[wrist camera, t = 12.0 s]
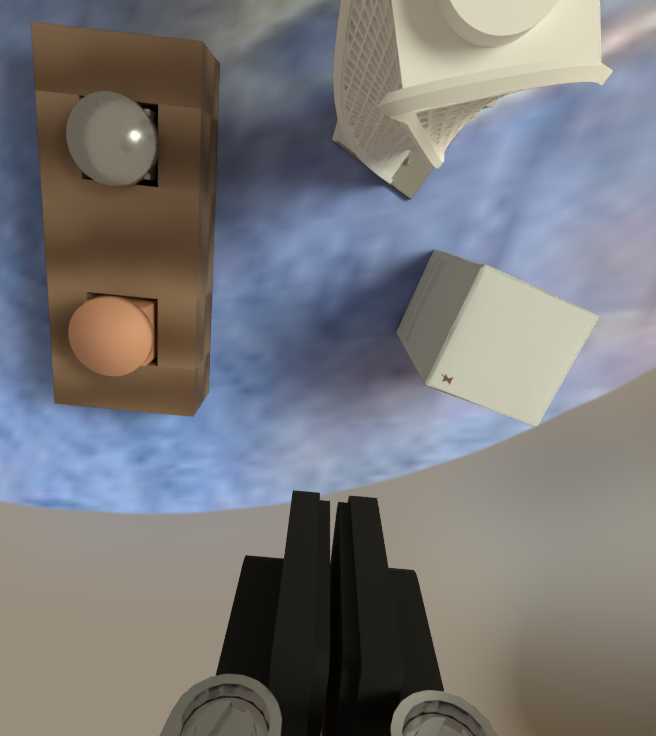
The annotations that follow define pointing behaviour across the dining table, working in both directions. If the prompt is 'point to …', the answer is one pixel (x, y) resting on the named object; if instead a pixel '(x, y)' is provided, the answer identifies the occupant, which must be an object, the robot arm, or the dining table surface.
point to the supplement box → (491, 336)
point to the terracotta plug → (115, 333)
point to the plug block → (131, 211)
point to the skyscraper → (447, 71)
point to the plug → (114, 139)
